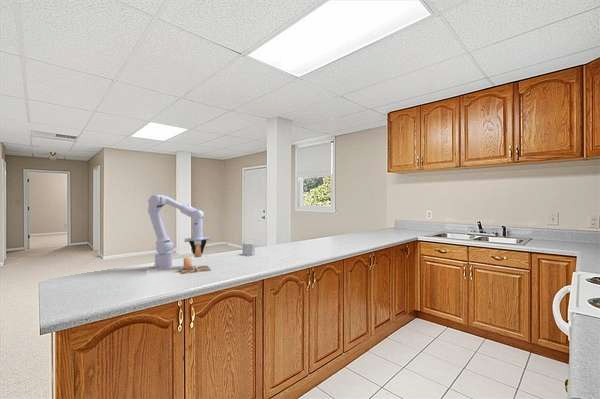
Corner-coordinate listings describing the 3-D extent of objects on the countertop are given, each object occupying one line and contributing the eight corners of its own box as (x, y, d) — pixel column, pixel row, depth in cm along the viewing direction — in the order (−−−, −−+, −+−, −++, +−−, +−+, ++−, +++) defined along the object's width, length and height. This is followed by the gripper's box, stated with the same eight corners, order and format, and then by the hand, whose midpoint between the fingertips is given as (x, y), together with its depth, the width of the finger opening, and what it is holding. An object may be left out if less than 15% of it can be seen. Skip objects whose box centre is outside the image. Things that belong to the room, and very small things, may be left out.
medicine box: (254, 254, 207) (254, 242, 207) (252, 256, 203) (251, 244, 203) (245, 254, 210) (245, 242, 210) (242, 255, 205) (242, 243, 205)
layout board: (180, 276, 153) (180, 272, 153) (179, 270, 163) (179, 267, 163) (211, 272, 160) (211, 268, 160) (208, 267, 171) (208, 264, 171)
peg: (184, 271, 157) (183, 259, 157) (183, 270, 161) (183, 257, 161) (191, 271, 159) (191, 258, 159) (191, 269, 163) (190, 257, 162)
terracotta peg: (194, 257, 166) (194, 245, 166) (194, 256, 169) (193, 244, 169) (202, 256, 168) (201, 245, 167) (201, 255, 171) (200, 244, 171)
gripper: (185, 232, 161) (185, 255, 161) (211, 230, 168) (211, 253, 168) (184, 230, 168) (184, 253, 168) (209, 229, 174) (209, 251, 174)
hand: (197, 253), depth 168 cm, fingers closed on terracotta peg, 4 cm apart
